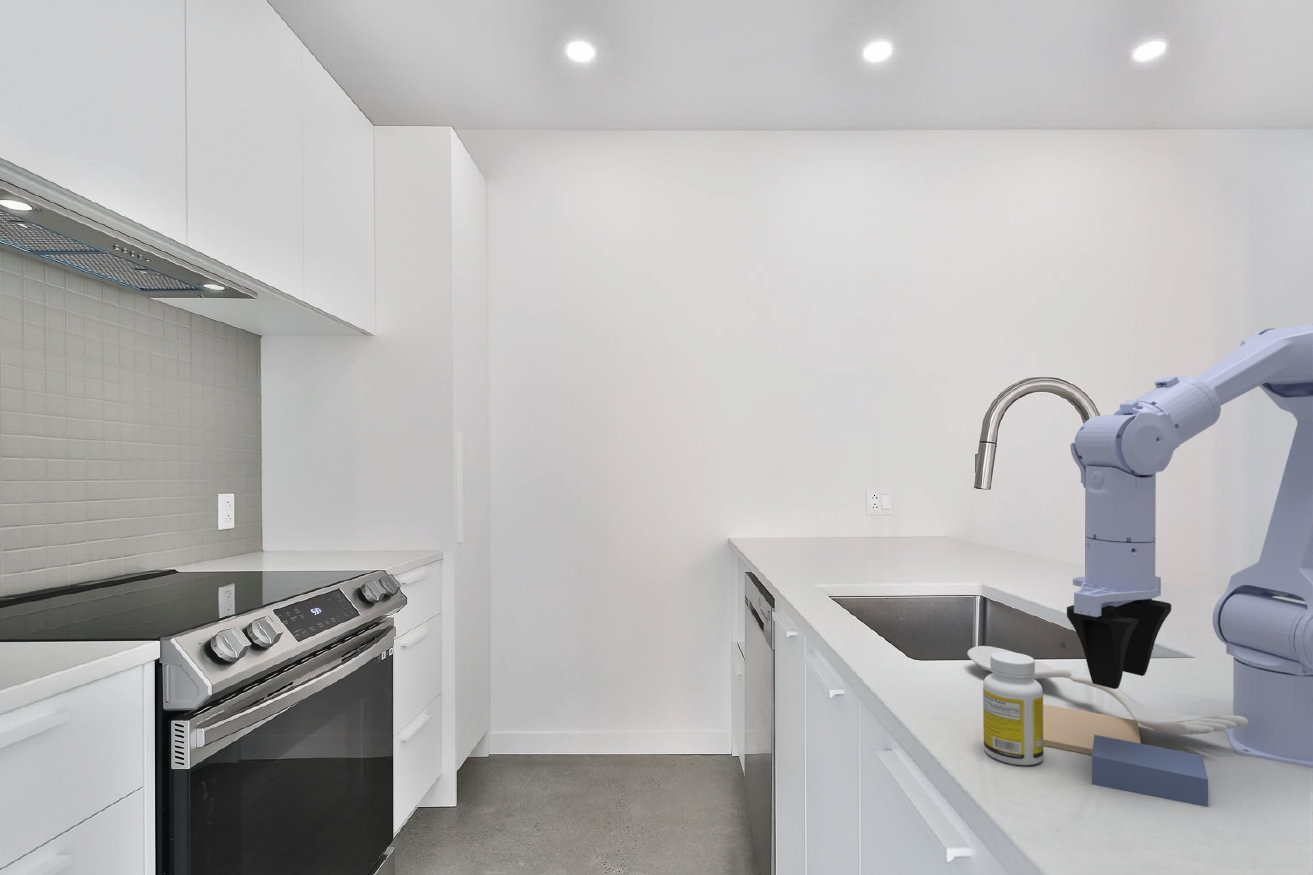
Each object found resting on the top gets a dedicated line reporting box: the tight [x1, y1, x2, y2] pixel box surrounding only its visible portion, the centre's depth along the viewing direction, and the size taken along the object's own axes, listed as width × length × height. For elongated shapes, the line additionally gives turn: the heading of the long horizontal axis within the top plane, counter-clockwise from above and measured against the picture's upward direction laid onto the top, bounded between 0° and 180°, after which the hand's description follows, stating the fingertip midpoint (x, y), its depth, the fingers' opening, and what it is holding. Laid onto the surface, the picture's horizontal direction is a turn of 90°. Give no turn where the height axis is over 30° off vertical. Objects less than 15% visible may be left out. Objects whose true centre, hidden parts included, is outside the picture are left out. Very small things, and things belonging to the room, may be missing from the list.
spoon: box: [966, 645, 1249, 736], centre depth 86 cm, size 9×32×4 cm, turn 18°
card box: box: [1091, 735, 1209, 808], centre depth 67 cm, size 8×6×3 cm, turn 57°
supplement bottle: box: [982, 651, 1045, 766], centre depth 73 cm, size 5×5×10 cm
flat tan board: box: [1043, 703, 1142, 756], centre depth 79 cm, size 14×11×1 cm
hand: (1119, 679), depth 70 cm, fingers open, 5 cm apart
